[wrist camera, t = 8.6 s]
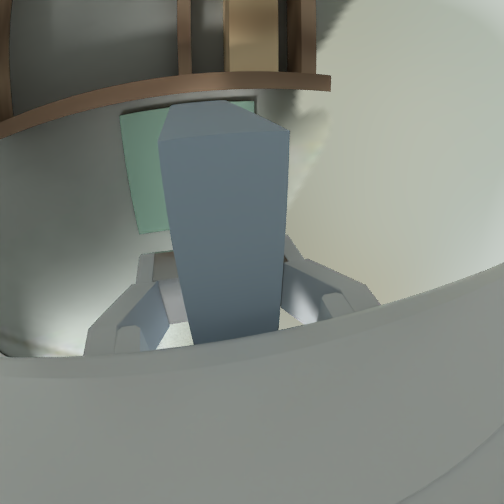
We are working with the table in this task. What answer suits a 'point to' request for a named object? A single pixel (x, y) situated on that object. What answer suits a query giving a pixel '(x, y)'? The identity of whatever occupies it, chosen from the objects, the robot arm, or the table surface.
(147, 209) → the pad
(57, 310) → the table surface
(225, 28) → the offcut
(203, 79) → the rack
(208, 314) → the sheet
